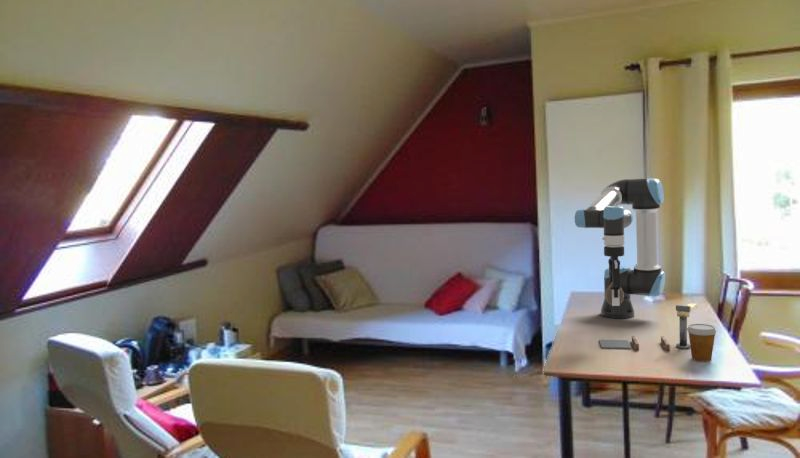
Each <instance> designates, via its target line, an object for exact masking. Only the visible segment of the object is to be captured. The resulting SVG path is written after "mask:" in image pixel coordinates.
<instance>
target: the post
mask: <svg viewBox="0 0 800 458" xmlns="http://www.w3.org/2000/svg"><path fill="white" fill-rule="evenodd" d="M687 328H688V317H679V343H676V344H675V348H677V349H681V350H689V349H691V347H690V343H689V344H688V330H687Z"/></svg>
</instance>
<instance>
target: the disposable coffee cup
mask: <svg viewBox="0 0 800 458" xmlns="http://www.w3.org/2000/svg"><path fill="white" fill-rule="evenodd" d="M687 333H688V339H689V345H690V352H691V353H690V354H691V359H692V360H694V361H697V362H702V361H703V362H706V361H707V362H710V360H711V361H712V357H713V351H714V350H713V349H714V344H715V335H716V333H717V330H716V327H715V326H714V325H712V324H709V323H708V324H707V323H691V324H690V323H689V324H688V325H687Z"/></svg>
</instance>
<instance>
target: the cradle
mask: <svg viewBox="0 0 800 458" xmlns="http://www.w3.org/2000/svg"><path fill="white" fill-rule="evenodd" d="M631 343H632V345H633V347H634V349H635V351H640V344H639V342H638V340H637V338H636V337H635V335H632V336H631ZM660 343H661V345H662V346H663V348H664V349H665V351H666V352H670V351H671V347H670V343H669V342H668V341H667V339H666V338H665V336H660Z"/></svg>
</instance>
